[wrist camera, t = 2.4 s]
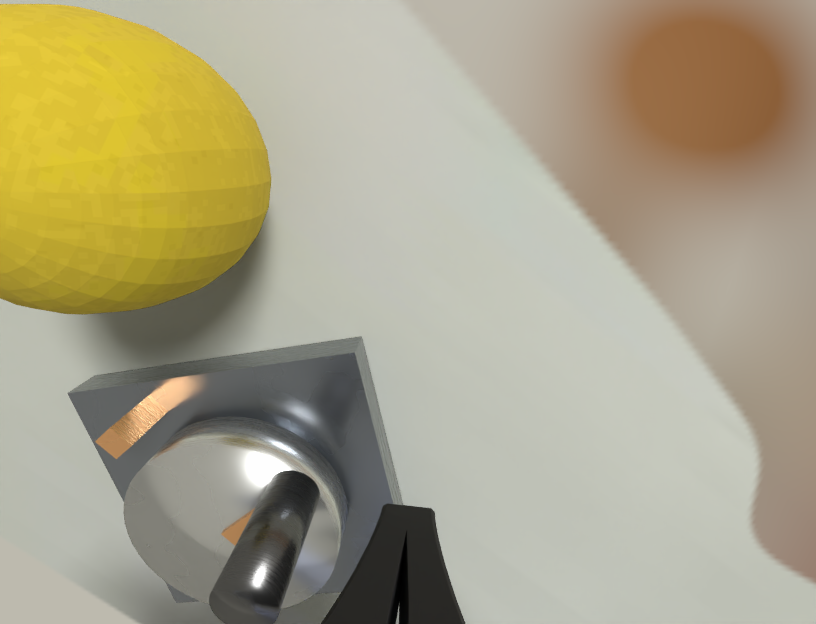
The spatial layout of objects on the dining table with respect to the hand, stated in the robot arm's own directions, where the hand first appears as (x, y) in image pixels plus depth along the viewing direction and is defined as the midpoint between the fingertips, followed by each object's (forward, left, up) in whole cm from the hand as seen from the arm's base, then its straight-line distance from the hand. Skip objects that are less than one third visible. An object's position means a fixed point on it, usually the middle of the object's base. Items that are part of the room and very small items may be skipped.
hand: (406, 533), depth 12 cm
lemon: (+10, +4, -4) cm, 12 cm away
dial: (-1, +6, -3) cm, 6 cm away
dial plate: (-1, +6, -4) cm, 7 cm away
